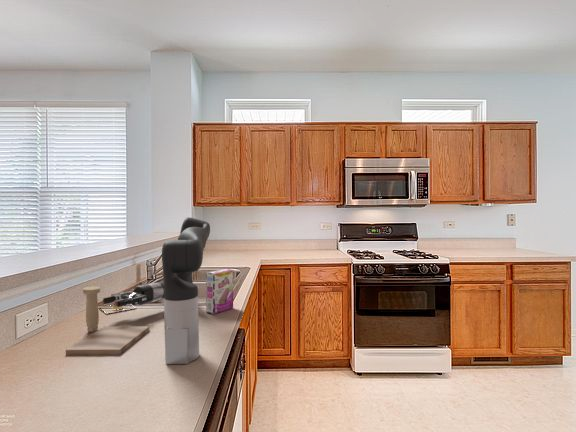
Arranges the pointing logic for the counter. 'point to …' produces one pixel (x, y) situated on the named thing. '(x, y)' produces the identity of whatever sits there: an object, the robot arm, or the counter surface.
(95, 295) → the handle
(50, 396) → the counter surface
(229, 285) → the candy bar box
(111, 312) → the dessert
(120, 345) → the walnut board
